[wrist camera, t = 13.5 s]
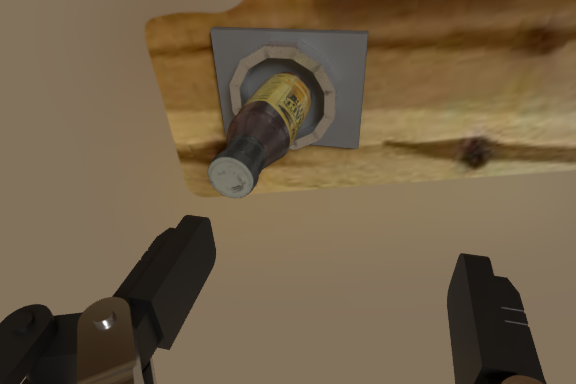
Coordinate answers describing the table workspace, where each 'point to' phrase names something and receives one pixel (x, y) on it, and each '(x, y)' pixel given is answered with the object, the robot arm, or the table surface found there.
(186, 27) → the table surface
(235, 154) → the sauce bottle
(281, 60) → the charcoal base
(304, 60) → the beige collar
